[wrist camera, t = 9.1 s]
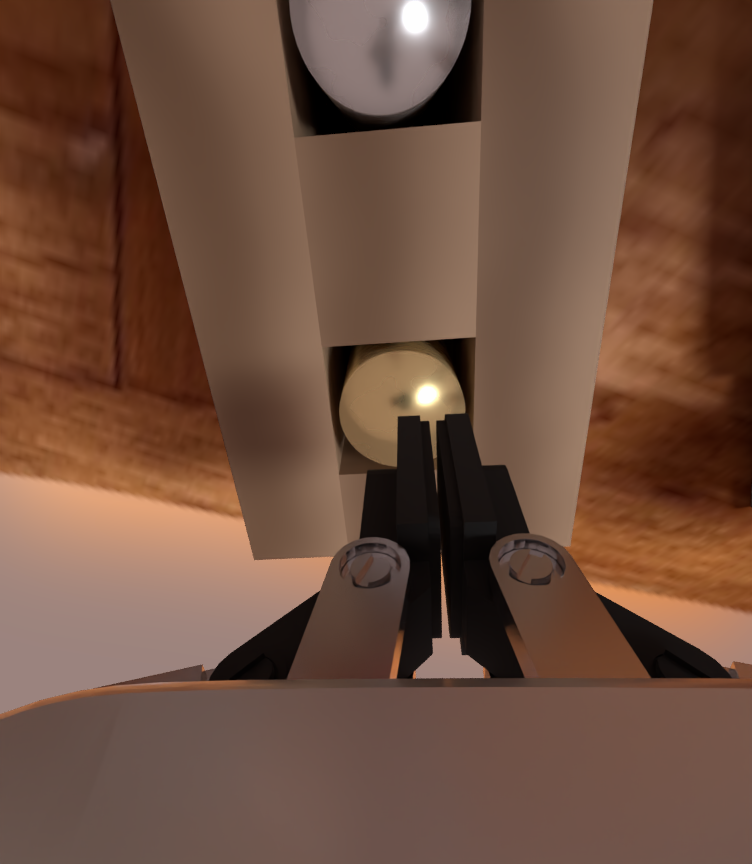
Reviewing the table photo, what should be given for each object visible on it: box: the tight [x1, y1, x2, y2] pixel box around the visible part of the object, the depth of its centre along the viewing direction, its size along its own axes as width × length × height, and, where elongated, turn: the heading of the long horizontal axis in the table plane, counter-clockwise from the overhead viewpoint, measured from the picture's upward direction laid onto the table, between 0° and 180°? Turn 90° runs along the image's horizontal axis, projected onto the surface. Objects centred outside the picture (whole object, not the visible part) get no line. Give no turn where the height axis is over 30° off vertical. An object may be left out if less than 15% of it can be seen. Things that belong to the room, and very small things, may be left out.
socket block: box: [110, 0, 653, 560], centre depth 17 cm, size 12×22×9 cm, turn 4°
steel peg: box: [289, 0, 471, 132], centre depth 14 cm, size 4×4×8 cm
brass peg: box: [339, 339, 465, 467], centre depth 19 cm, size 4×4×8 cm
